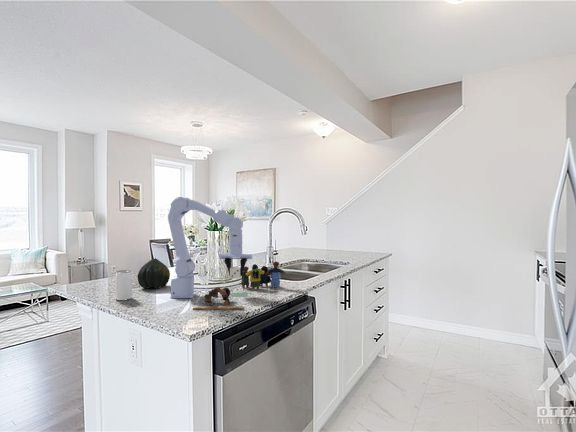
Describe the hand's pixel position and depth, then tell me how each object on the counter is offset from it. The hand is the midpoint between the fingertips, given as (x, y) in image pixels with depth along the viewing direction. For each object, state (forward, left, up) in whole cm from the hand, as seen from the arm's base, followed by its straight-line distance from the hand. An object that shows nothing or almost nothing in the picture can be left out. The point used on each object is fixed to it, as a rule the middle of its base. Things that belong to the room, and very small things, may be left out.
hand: (235, 275), depth 146 cm
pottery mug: (-5, -13, -10) cm, 17 cm away
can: (-47, -5, -10) cm, 49 cm away
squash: (-43, +17, -10) cm, 48 cm away
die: (0, 0, -1) cm, 1 cm away
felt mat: (+2, +1, -9) cm, 10 cm away
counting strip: (-4, -20, -9) cm, 22 cm away
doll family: (+11, +15, -10) cm, 21 cm away
